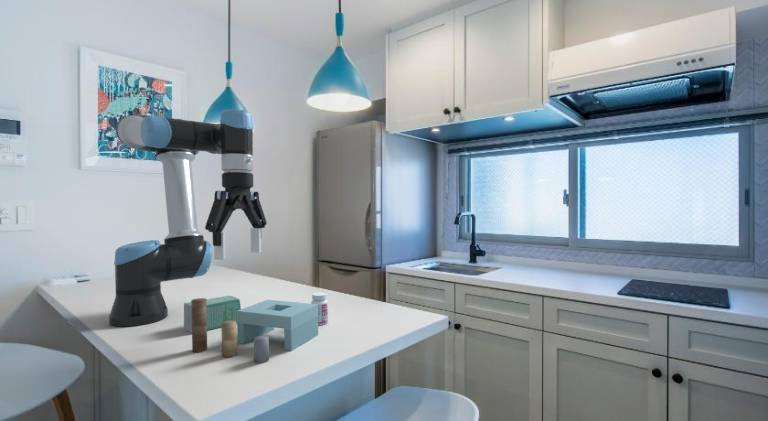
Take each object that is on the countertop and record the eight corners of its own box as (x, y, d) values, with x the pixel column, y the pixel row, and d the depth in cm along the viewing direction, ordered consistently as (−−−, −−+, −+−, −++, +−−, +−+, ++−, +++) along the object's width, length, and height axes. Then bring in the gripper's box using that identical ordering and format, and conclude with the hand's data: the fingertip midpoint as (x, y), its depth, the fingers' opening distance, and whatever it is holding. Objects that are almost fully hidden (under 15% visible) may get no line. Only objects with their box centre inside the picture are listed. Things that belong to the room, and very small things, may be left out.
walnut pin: (189, 351, 93) (188, 300, 93) (200, 346, 96) (199, 297, 96) (199, 353, 92) (198, 302, 92) (210, 348, 95) (209, 298, 95)
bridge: (237, 342, 99) (236, 310, 99) (268, 328, 110) (267, 299, 110) (291, 350, 93) (290, 316, 93) (318, 334, 104) (317, 304, 104)
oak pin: (218, 356, 90) (218, 323, 90) (229, 351, 93) (228, 319, 93) (230, 358, 89) (229, 325, 89) (240, 353, 92) (239, 321, 92)
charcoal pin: (250, 362, 87) (250, 339, 87) (260, 356, 90) (260, 334, 90) (262, 364, 86) (262, 341, 86) (272, 358, 89) (271, 336, 88)
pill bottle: (324, 326, 112) (324, 296, 111) (308, 325, 113) (308, 295, 112) (330, 321, 116) (329, 292, 116) (314, 320, 117) (314, 291, 117)
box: (241, 323, 116) (241, 297, 116) (193, 334, 106) (192, 307, 106) (230, 318, 121) (229, 293, 121) (183, 329, 111) (182, 302, 111)
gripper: (213, 168, 88) (215, 263, 88) (278, 174, 111) (279, 250, 112) (186, 169, 90) (189, 262, 91) (256, 175, 114) (257, 249, 114)
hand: (239, 255), depth 101 cm, fingers open, 13 cm apart
